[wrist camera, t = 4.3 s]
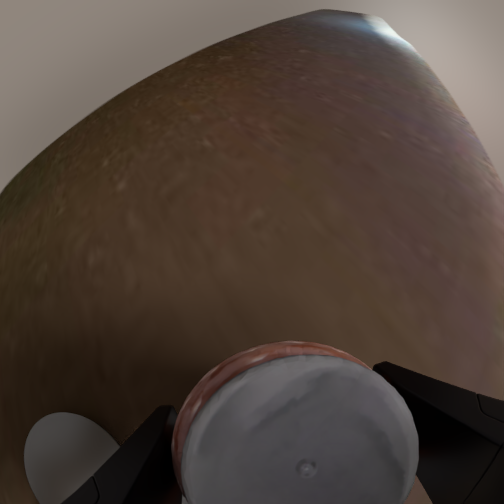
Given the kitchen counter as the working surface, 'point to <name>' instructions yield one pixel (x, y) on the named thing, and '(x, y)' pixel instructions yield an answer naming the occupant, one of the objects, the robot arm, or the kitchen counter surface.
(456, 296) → the kitchen counter surface
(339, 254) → the kitchen counter surface
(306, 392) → the supplement bottle
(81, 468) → the board
